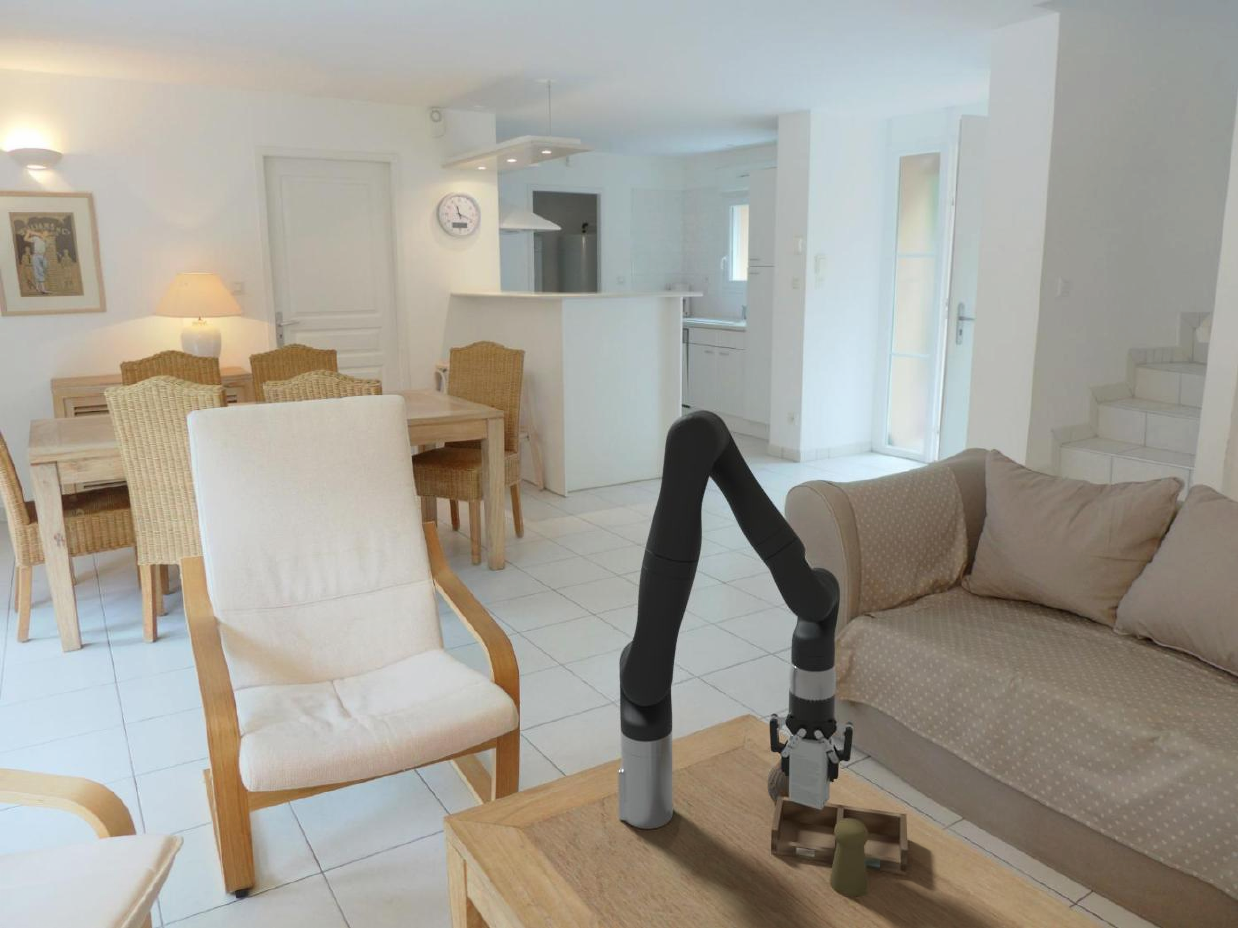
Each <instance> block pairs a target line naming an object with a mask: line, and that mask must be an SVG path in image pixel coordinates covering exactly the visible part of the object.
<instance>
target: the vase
mask: <svg viewBox="0 0 1238 928" xmlns="http://www.w3.org/2000/svg"><path fill="white" fill-rule="evenodd" d="M767 793H768V795H769V797H770V799H771V801H772V802H773V803H774V804H775V805H776V803H777V798H778V796H782V797H789V776H785V772H782V770H781V758H780V759H779V761H778V762H777V763H776V764H775V765H774V766H773V767H772V768H771V770H770V771H769V774H768V777H767Z"/></svg>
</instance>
